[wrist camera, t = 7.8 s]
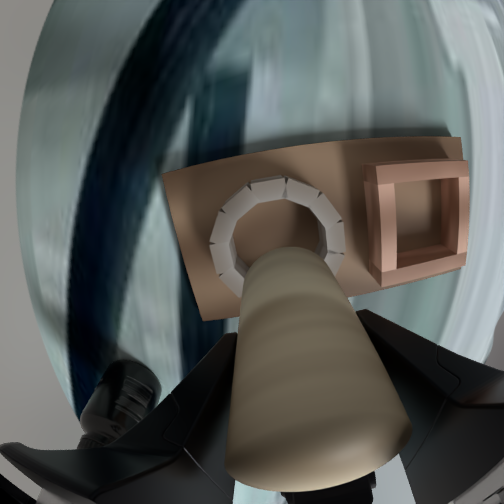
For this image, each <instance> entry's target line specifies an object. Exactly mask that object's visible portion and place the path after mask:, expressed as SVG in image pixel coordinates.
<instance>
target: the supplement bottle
mask: <svg viewBox="0 0 504 504" xmlns="http://www.w3.org/2000/svg"><path fill="white" fill-rule="evenodd" d="M161 392H162V389H161V385H160V382H159V380H158V379H157V378H156V376H155V375H154V374H153V373H152V372H151V371H149V370H148V369H147V368H145V367H144V366H142V365H140V364H138V363H135V362H132V361H128V360H118V361H114V362H112V363H111V364H110V365H109V366H108V368H107V370H106V371H105V373H104V375H103V376H102V378H101V380H100V382H99V383H98V385H97V387H96V389H95V390H94V392H93V394H92V396H91V398H90V399H89V401H88V403H87V405H86V407H85V409H84V411H83V412H82V415H81V417H80V423H81V427H82V429H83V431H84V432H85V434H84V435H82V437H81V439H80V442H79V445H78V447H77V449H90V448H99V447H103V446H106V445H108V444H110V443H112V442H114V441H115V440H117V439H118V438H119V437H120V436H122V435H123V434H124V433H126V432H127V431H128V430H129V429H131V428H132V427H133V426H134V425H136V424H137V423H138V422H139V421H141V420H142V419H143V418H144V417H145V416H147V415H148V414H149V413H150V412H151V411H152V410H153V409H154V408H156V407H157V405H158V402H159V399H160V396H161Z"/></svg>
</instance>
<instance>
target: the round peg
mask: <svg viewBox="0 0 504 504" xmlns="http://www.w3.org/2000/svg"><path fill="white" fill-rule="evenodd" d="M412 430H413V428H412V424H411V421H410V419H409V417H408V415H407V413H406V410H405V408H404V406H403V404H402V402H401V400H400V398H399V395H398V393H397V391H396V389H395V387H394V385H393V383H392V381H391V379H390V377H389V375H388V373H387V371H386V369H385V367H384V365H383V363H382V361H381V359H380V357H379V355H378V353H377V351H376V350H375V348H374V346H373V344H372V342H371V340H370V338H369V336H368V334H367V333H366V331H365V329H364V327H363V325H362V323H361V322H360V320H359V318H358V316H357V314H356V313H355V311H354V309H353V307H352V305H351V304H350V302H349V300H348V298H347V297H346V295H345V293H344V291H343V290H342V288H341V286H340V285H339V283H338V281H337V280H336V278H335V276H334V274H333V273H332V271H331V269H330V268H329V266H328V265H327V263H326V262H325V261H324V260H323V259H322V258H321V257H320V256H319V255H317V254H316V253H314V252H312V251H310V250H308V249H304V248H300V247H282V248H278V249H275V250H272V251H269V252H268V253H266V254H264V255H262V256H261V257H260V258H258V259H257V260H256V261H255V262H254V263H253V264H252V266H251V267H250V268H249V270H248V271H247V274H246V276H245V279H244V282H243V290H242V299H241V308H240V318H239V327H238V336H237V345H236V355H235V364H234V374H233V383H232V393H231V403H230V412H229V422H228V432H227V442H226V452H225V462H224V465H225V469H226V471H227V473H228V474H229V475H230V476H231V477H232V478H234V479H235V480H237V481H239V482H241V483H242V484H245V485H248V486H251V487H254V488H258V489H263V490H269V491H279V492H301V491H312V490H318V489H324V488H329V487H333V486H337V485H340V484H344V483H347V482H350V481H352V480H355V479H358V478H360V477H362V476H365V475H367V474H369V473H371V472H373V471H375V470H376V469H378V468H380V467H381V466H383V465H384V464H386V463H387V462H389V461H390V460H391V459H392V458H394V457H395V456H396V455H397V454H398V453H399V452H400V451H401V450H402V449H403V448H404V447H405V446H406V445H407V443H408V441H409V440H410V437H411V435H412Z"/></svg>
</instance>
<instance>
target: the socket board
mask: <svg viewBox="0 0 504 504" xmlns="http://www.w3.org/2000/svg"><path fill="white" fill-rule="evenodd" d="M162 178H163V182H164V186H165V191H166V195H167V199H168V203H169V207H170V211H171V215H172V219H173V223H174V226H175V230H176V234H177V238H178V241H179V245H180V248H181V252H182V256H183V259H184V262H185V266H186V269H187V273H188V276H189V279H190V282H191V286H192V289H193V292H194V295H195V298H196V302H197V305H198V308H199V311H200V314H201V317H202V320H203V321H209V320H217V319H224V318H232V317H239V316H240V308H241V299H242V290H243V282H244V279H245V276H246V274H247V271H248V270H249V268H250V267H251V266H252V264H253V263H254V262H255V261H256V260H257V259H258V258H260V257H261V256H262V255H264V254H266V253H268V252H269V251H272V250H275V249H278V248H282V247H300V248H304V249H308V250H310V251H312V252H314V253H316V254H317V255H319V256H320V257H321V258H322V259H323V260H324V261H325V262H326V263H327V265H328V266H329V268H330V269H331V271H332V273H333V274H334V276H335V278H336V280H337V281H338V283H339V285H340V286H341V288H342V290H343V291H344V293H345V295H346V297H347V298H348V297H352V296H357V295H362V294H366V293H371V292H375V291H379V290H384V289H388V288H392V287H396V286H400V285H404V284H408V283H412V282H416V281H419V280H423V279H427V278H431V277H434V276H438V275H441V274H445V273H448V272H452V271H455V270H458V269H461V266H464V265H465V264H466V255H467V245H468V231H469V170H468V161H466V160H463V153H462V144H461V137H439V136H412V137H382V138H366V139H353V140H341V141H331V142H322V143H314V144H306V145H299V146H292V147H285V148H279V149H272V150H266V151H261V152H255V153H250V154H245V155H239V156H234V157H230V158H225V159H220V160H216V161H211V162H207V163H203V164H198V165H194V166H190V167H186V168H182V169H178V170H175V171H171V172H167V173H163V174H162Z"/></svg>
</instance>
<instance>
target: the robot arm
mask: <svg viewBox="0 0 504 504" xmlns="http://www.w3.org/2000/svg"><path fill="white" fill-rule="evenodd" d="M355 313H356V314H357V316H358V318H359V320H360V322H361V323H362V325H363V327H364V329H365V331H366V333H367V334H368V336H369V338H370V340H371V342H372V344H373V346H374V348H375V350H376V351H377V353H378V355H379V357H380V359H381V361H382V363H383V365H384V367H385V369H386V371H387V373H388V375H389V377H390V379H391V381H392V383H393V385H394V387H395V389H396V391H397V393H398V395H399V398H400V400H401V402H402V404H403V406H404V408H405V410H406V413H407V415H408V417H409V419H410V421H411V424H412V428H413V430H412V435H411V437H410V440H409V441H408V443H407V445H406V446H405V447H404V448H403V449H402V450H401V451H400V452H399V455H400V458H401V461H402V463H403V466H404V469H405V472H406V475H407V478H408V481H409V484H410V487H411V490H412V493H413V496H414V499H415V502H416V504H504V371H501V370H498V369H495V368H492V367H490V366H487V365H484V364H482V363H479V362H476V361H474V360H471V359H468V358H466V357H463V356H461V355H458V354H456V353H454V352H452V351H450V350H448V349H446V348H444V347H442V346H440V345H438V346H437V344H435V343H433V342H431V341H429V340H427V339H425V338H423V337H421V336H419V335H417V334H415V333H413V332H411V331H409V330H407V329H405V328H403V327H401V326H399V325H397V324H395V323H393V322H391V321H389V320H387V319H385V318H383V317H381V316H379V315H377V314H375V313H373V312H371V311H369V310H367V309H363V310H359V311H356V312H355ZM237 336H238V334H237V333H236V332H234V333H226V334H225V335H224V336H223V337H222V338H221V339H220V340H219V341H218V342H217V343H216V344H215V345H214V347H213V348H212V349H211V350H210V351H209V352H208V353H207V354H206V355H205V356H204V357H203V359H202V360H201V361H200V362H199V363H198V364H197V365H196V366H195V367H194V368H193V369H192V370H191V371H190V372H189V374H188V375H187V376H186V377H185V378H184V379H183V380H182V381H181V382H180V383H179V384H178V385H177V386H176V387H175V388H174V389H173V390H172V391H171V394H169V395H168V396H167V397H166V398H165V399H164V400H163V401H162V402H161V403H160V404H159V405H158V406H157V407H156V408H154V409H153V410H152V411H151V412H150V413H149V414H148V415H147V416H145V417H144V418H143V419H142V420H141V421H139V422H138V423H137V424H136V425H134V426H133V427H132V428H131V429H129V430H128V431H127V432H126V433H124V434H123V435H122V436H120V437H119V438H118V439H117V440H115V441H114V442H112V443H110V444H108V445H106V446H103V447H99V448H90V449H75V450H37V449H33V448H29V447H27V446H25V445H23V444H21V443H18V442H10V443H4V444H1V445H0V453H1V454H2V455H3V456H4V457H5V458H6V459H7V460H8V461H9V462H10V463H11V464H13V465H14V466H15V467H16V468H17V469H18V470H20V471H21V472H22V473H23V474H24V475H26V476H27V477H28V478H30V479H31V480H32V481H34V482H35V483H36V484H37V485H39V486H40V487H42V489H41V492H40V494H39V496H38V499H37V501H36V500H35V499H33V498H32V497H30V496H29V495H27V494H26V493H25V492H23V491H22V490H20V489H19V488H18V487H16V486H15V485H14V484H12V483H11V482H10V481H9V480H7V479H6V478H5V477H4V476H2V475H1V474H0V504H233V495H234V486H235V479H234V478H232V477H231V476H230V475H229V474H228V473H227V471H226V469H225V465H224V462H225V452H226V442H227V432H228V422H229V412H230V403H231V393H232V383H233V374H234V364H235V355H236V345H237ZM375 487H376V477H375V472H374V471H373V472H371V473H369V474H367V475H365V476H362V477H360V478H358V479H355V480H352V481H350V482H347V483H344V484H340V485H337V486H333V487H329V488H324V489H318V490H312V491H301V492H281V495H282V496H283V497H285V498H286V501H287V502H288V504H372V502H373V495H372V488H375Z"/></svg>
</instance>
